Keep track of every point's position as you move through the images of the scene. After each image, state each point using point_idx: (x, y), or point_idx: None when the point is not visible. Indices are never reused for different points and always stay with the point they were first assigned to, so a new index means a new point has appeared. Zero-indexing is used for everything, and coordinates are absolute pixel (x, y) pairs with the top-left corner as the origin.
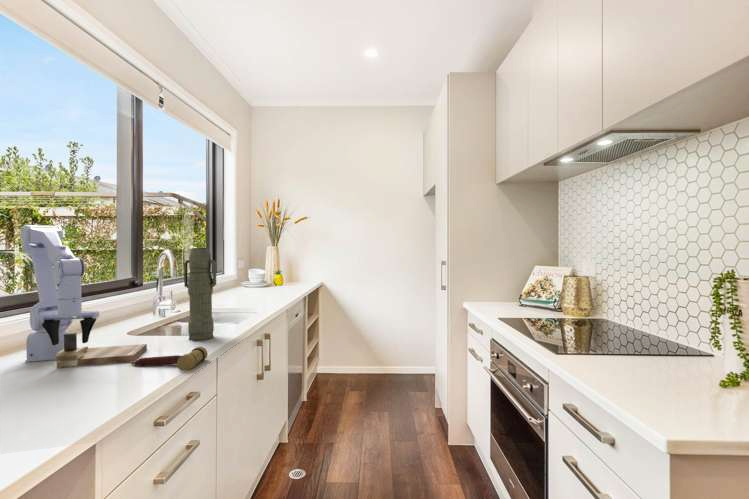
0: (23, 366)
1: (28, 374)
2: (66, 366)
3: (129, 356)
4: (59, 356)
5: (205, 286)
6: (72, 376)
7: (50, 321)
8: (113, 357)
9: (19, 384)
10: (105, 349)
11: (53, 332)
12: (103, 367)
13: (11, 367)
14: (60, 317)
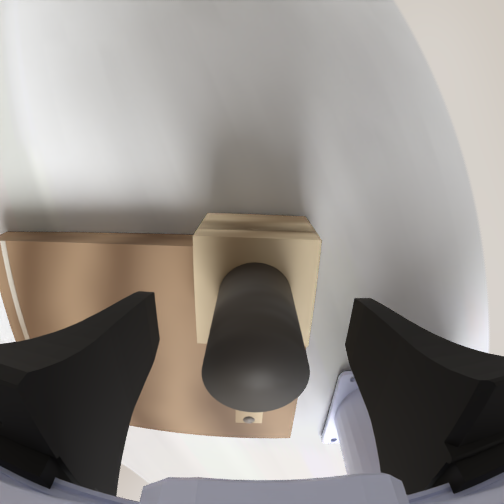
0: (448, 309)
1: (398, 159)
2: (257, 214)
3: (1, 239)
4: (298, 231)
5: None
6: (162, 44)
7: (479, 451)
8: (48, 240)
9: (358, 5)
10: (156, 396)
11: (402, 357)
12: (76, 166)
13: (477, 306)
14: (374, 477)
